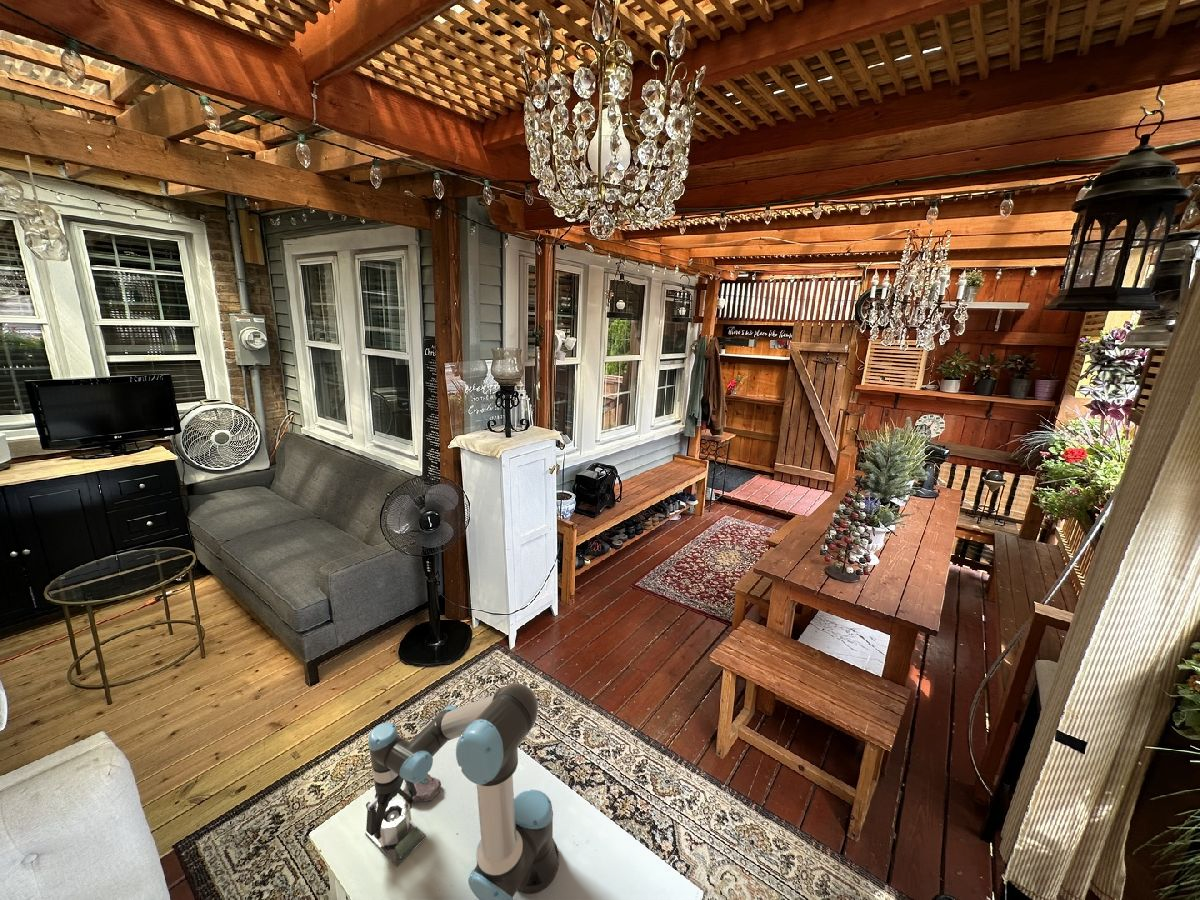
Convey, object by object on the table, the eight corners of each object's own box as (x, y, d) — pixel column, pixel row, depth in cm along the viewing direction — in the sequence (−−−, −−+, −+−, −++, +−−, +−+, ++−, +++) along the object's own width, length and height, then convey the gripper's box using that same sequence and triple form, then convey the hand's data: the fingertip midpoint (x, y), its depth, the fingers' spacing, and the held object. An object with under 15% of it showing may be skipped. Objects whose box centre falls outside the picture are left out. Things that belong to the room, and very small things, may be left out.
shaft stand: (426, 836, 144) (423, 817, 142) (396, 867, 136) (394, 847, 134) (394, 807, 153) (392, 788, 150) (365, 834, 145) (362, 814, 142)
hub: (414, 827, 145) (412, 810, 143) (390, 850, 138) (388, 833, 137) (398, 812, 149) (396, 795, 147) (375, 834, 143) (372, 817, 141)
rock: (436, 804, 154) (435, 794, 153) (401, 805, 153) (399, 795, 152) (443, 781, 162) (442, 771, 161) (409, 782, 161) (408, 771, 160)
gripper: (410, 741, 148) (416, 796, 154) (345, 794, 131) (355, 853, 137) (426, 753, 144) (431, 809, 150) (360, 809, 127) (369, 869, 133)
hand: (395, 830), depth 144 cm, fingers closed on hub, 8 cm apart
